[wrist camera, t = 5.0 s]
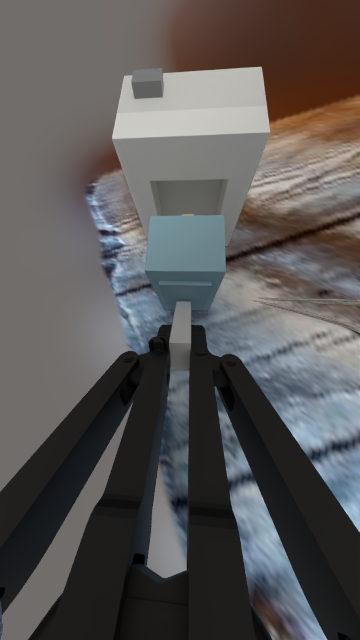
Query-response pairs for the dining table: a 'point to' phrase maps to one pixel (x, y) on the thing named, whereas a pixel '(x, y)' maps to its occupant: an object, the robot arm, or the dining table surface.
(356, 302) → the tweezers
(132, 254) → the dining table surface
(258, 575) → the dining table surface
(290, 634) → the dining table surface
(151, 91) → the socket
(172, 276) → the plug
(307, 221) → the dining table surface
